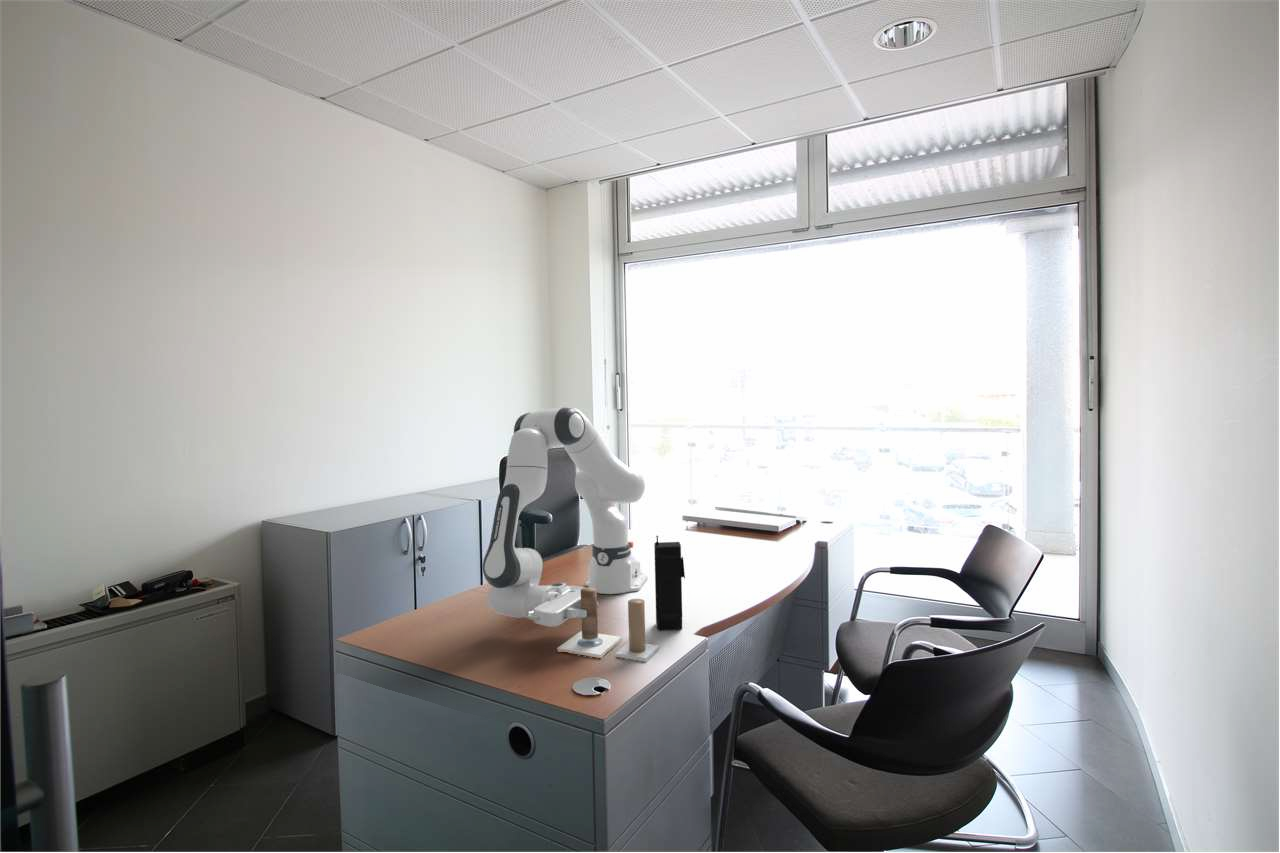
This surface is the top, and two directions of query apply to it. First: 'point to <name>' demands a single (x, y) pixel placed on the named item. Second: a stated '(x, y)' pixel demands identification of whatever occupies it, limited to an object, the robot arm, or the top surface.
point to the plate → (590, 644)
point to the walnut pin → (591, 620)
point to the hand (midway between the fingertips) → (592, 609)
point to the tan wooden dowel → (637, 634)
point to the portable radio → (668, 585)
